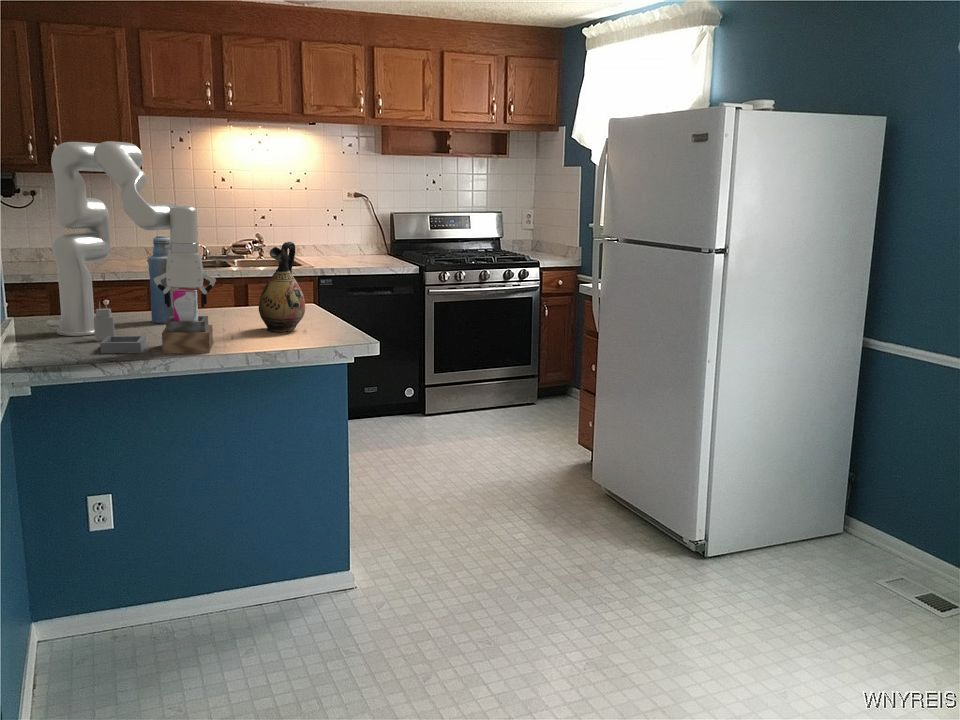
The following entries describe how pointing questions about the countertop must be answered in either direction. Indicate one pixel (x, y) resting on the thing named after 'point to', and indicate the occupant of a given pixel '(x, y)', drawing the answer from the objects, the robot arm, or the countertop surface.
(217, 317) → the countertop surface
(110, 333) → the power adapter
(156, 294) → the bottle
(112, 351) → the low collar
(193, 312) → the supplement box
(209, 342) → the raised dock
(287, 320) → the ceramic jug
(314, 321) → the countertop surface
